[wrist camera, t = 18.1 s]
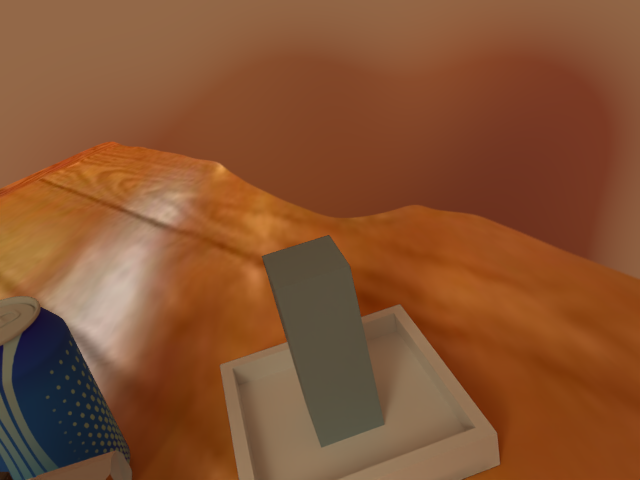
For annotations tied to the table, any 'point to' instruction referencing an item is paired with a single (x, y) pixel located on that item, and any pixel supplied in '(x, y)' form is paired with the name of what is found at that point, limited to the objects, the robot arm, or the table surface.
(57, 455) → the beer can
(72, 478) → the robot arm
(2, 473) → the coffee box
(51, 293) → the table surface
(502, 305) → the table surface
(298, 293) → the slate block
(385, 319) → the bin
